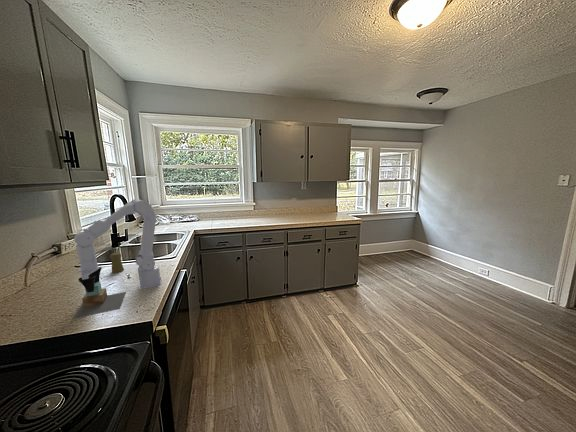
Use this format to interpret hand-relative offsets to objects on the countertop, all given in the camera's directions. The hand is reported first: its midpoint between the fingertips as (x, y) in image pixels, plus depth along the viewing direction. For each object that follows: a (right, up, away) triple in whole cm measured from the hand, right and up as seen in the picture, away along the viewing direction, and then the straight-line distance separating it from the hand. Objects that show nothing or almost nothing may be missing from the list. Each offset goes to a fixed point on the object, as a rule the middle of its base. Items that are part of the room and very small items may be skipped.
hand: (93, 287), depth 107 cm
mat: (+4, -7, -1) cm, 9 cm away
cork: (-13, -1, +34) cm, 37 cm away
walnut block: (0, -6, +1) cm, 7 cm away
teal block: (0, -3, +1) cm, 3 cm away
